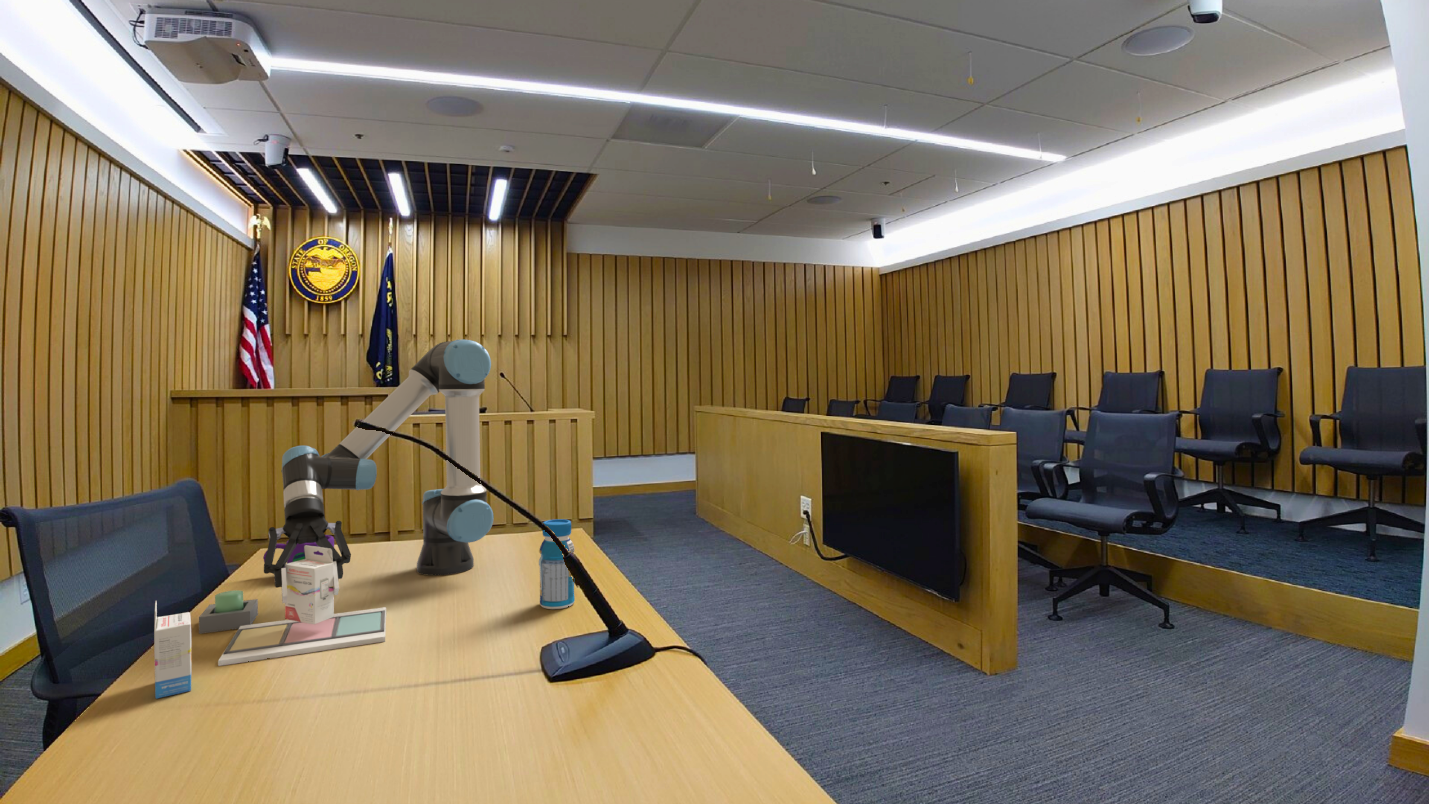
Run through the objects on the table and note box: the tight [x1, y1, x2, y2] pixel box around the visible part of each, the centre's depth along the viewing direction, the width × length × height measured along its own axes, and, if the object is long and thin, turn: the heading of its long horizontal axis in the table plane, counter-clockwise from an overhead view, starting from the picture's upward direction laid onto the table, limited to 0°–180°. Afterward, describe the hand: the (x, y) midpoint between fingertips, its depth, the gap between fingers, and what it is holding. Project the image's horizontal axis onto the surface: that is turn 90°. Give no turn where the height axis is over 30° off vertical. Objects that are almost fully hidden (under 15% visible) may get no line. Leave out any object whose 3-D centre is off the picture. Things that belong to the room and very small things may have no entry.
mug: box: [262, 534, 335, 568], centre depth 184 cm, size 17×11×10 cm, turn 103°
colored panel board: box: [217, 606, 387, 667], centre depth 140 cm, size 28×20×1 cm
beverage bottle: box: [538, 518, 576, 610], centre depth 160 cm, size 8×8×20 cm
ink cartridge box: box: [284, 545, 335, 624], centre depth 139 cm, size 9×5×15 cm, turn 71°
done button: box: [214, 590, 244, 613], centre depth 147 cm, size 5×5×5 cm
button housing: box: [198, 598, 259, 635], centre depth 147 cm, size 9×9×4 cm
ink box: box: [153, 600, 192, 700], centre depth 116 cm, size 8×5×15 cm, turn 39°
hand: (311, 595), depth 137 cm, fingers closed on ink cartridge box, 8 cm apart
